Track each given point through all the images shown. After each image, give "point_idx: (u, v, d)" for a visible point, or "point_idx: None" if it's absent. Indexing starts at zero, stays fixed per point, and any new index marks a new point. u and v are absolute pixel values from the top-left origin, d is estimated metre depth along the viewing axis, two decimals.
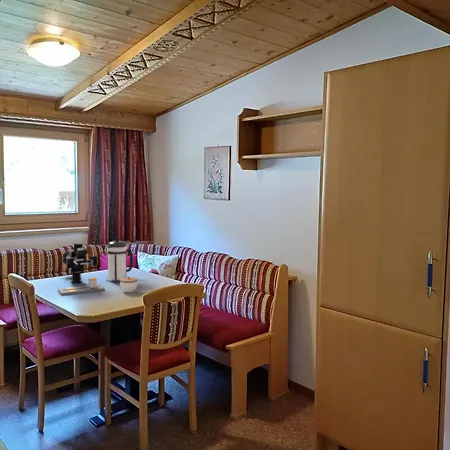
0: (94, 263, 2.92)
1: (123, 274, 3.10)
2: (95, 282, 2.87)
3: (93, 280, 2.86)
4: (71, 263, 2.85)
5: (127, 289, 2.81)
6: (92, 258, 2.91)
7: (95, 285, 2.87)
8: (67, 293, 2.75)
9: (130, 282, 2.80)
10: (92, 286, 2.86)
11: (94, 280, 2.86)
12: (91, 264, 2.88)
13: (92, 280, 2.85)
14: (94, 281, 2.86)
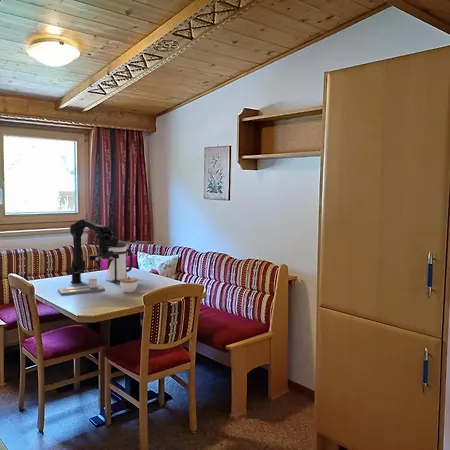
0: None
1: (123, 274, 3.10)
2: (95, 282, 2.87)
3: (93, 280, 2.86)
4: None
5: (127, 289, 2.81)
6: (110, 260, 2.90)
7: (95, 285, 2.87)
8: (67, 293, 2.75)
9: (130, 282, 2.80)
10: (92, 286, 2.86)
11: (94, 280, 2.86)
12: (107, 264, 2.92)
13: (92, 280, 2.85)
14: (94, 281, 2.86)
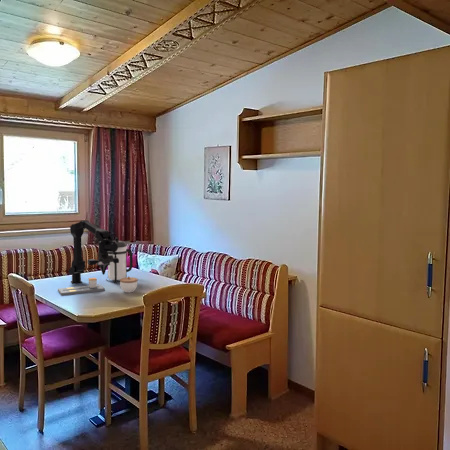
0: None
1: (123, 274, 3.10)
2: (95, 282, 2.87)
3: (93, 280, 2.86)
4: None
5: (127, 289, 2.81)
6: (106, 265, 2.89)
7: (95, 285, 2.87)
8: (67, 293, 2.75)
9: (130, 282, 2.80)
10: (92, 286, 2.86)
11: (94, 280, 2.86)
12: (103, 269, 2.91)
13: (92, 280, 2.85)
14: (94, 281, 2.86)
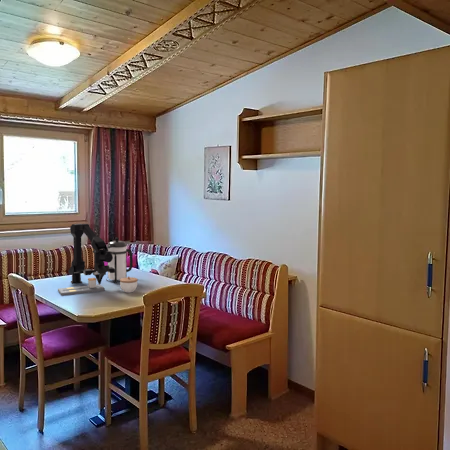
0: None
1: (123, 274, 3.10)
2: (95, 282, 2.86)
3: (93, 280, 2.86)
4: None
5: (127, 289, 2.81)
6: (102, 275, 2.88)
7: (95, 285, 2.87)
8: (67, 293, 2.75)
9: (130, 282, 2.80)
10: (92, 286, 2.86)
11: (94, 280, 2.86)
12: None
13: (92, 280, 2.85)
14: (94, 281, 2.86)
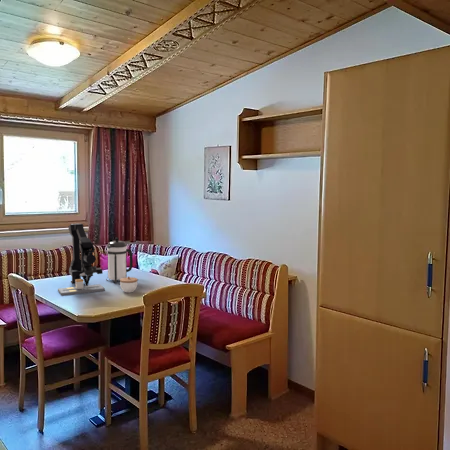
0: None
1: (123, 274, 3.10)
2: (82, 283, 2.83)
3: (80, 281, 2.82)
4: None
5: (127, 289, 2.81)
6: (90, 276, 2.84)
7: (82, 286, 2.83)
8: (67, 293, 2.75)
9: (130, 282, 2.80)
10: (79, 287, 2.82)
11: (81, 281, 2.82)
12: None
13: (79, 281, 2.81)
14: (81, 283, 2.82)
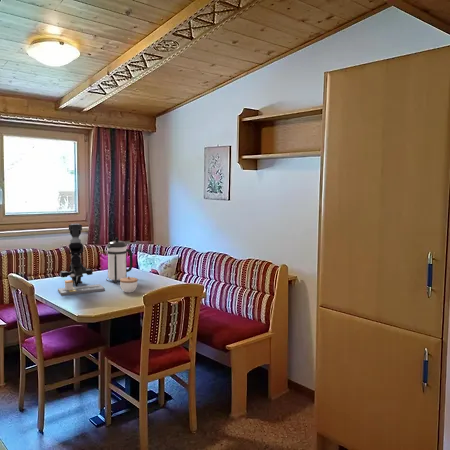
0: None
1: (123, 274, 3.10)
2: (71, 284, 2.79)
3: (69, 282, 2.79)
4: None
5: (127, 289, 2.81)
6: (79, 277, 2.81)
7: (71, 287, 2.80)
8: (67, 293, 2.75)
9: (130, 282, 2.80)
10: (68, 289, 2.79)
11: (70, 282, 2.79)
12: (76, 281, 2.84)
13: (68, 282, 2.78)
14: (70, 284, 2.79)
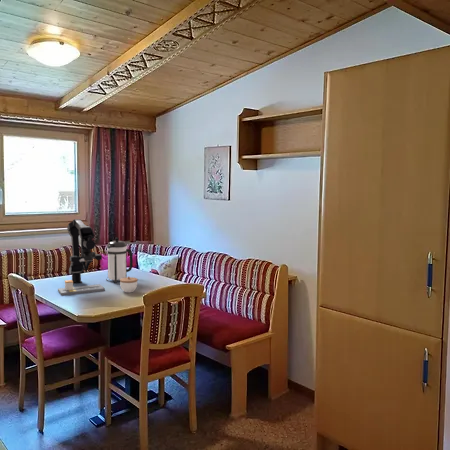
0: None
1: (123, 274, 3.10)
2: (71, 284, 2.79)
3: (69, 282, 2.79)
4: None
5: (127, 289, 2.81)
6: (89, 262, 2.85)
7: (71, 287, 2.80)
8: (67, 293, 2.75)
9: (130, 282, 2.80)
10: (68, 289, 2.79)
11: (70, 282, 2.79)
12: None
13: (68, 282, 2.78)
14: (70, 284, 2.79)
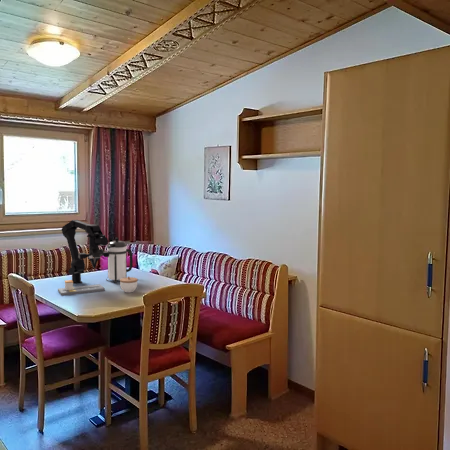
0: None
1: (123, 274, 3.10)
2: (71, 284, 2.79)
3: (69, 282, 2.79)
4: None
5: (127, 289, 2.81)
6: (97, 259, 2.94)
7: (71, 287, 2.80)
8: (67, 293, 2.75)
9: (130, 282, 2.80)
10: (68, 289, 2.79)
11: (70, 282, 2.79)
12: None
13: (68, 282, 2.78)
14: (70, 284, 2.79)
